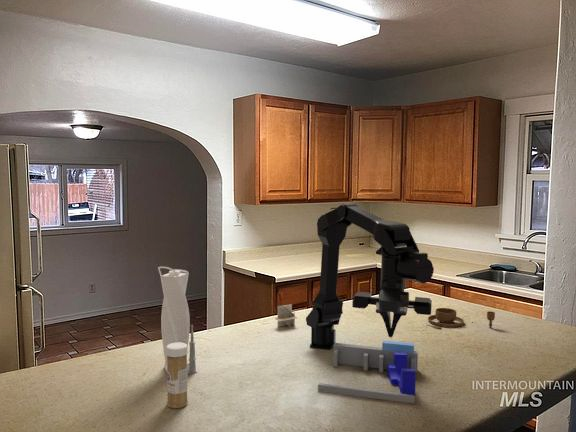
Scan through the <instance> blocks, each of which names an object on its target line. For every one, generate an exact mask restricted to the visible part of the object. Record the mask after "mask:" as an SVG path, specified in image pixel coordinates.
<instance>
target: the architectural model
mask: <svg viewBox="0 0 576 432" xmlns="http://www.w3.org/2000/svg"><path fill="white" fill-rule="evenodd" d="M292 305H293V304H292V303H291V304H290V303H289V304H285V305H279V306H277V317H274V320H276V321H277V327H278V328H279V327H284V326H285V327H286V326H287V327H291V325H292V326H293V327H294V326H295V325H296V319H297V317H296V312H295V311H294V312H293V310H292V309H293V306H292Z"/></svg>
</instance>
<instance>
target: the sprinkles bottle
mask: <svg viewBox="0 0 576 432" xmlns="http://www.w3.org/2000/svg"><path fill="white" fill-rule="evenodd" d="M188 348H189V347H188ZM188 348H187V344H185V343H181V342H177V343H171V344H169V345H167V347H166V355H167V373H166V375H167V377H166V378H167V379H166V386H167V387H166V390H167V391H166V392H167V403H166V405H167V407H168V408H170V409H181V408H183V407H186V406H187V405H188V403H189V401H188V375H187V364H188V353H189V350H188Z"/></svg>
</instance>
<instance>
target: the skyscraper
mask: <svg viewBox="0 0 576 432" xmlns="http://www.w3.org/2000/svg"><path fill="white" fill-rule="evenodd" d="M161 269H167V270H169V271H168V273H164V274H162V271H161ZM157 270H158V273H159V275H160V281H161V289H162V292H163V293H162V294H163V299H162V306H161V315H160V316H161V319H160V322H161V323H160V324H161V325H160V326H161V327H160V329H161V338H162V339H161V341H162V349H163V355H164V365H163V369H164V371H165V373H166V374H167V355H166V347H167V345H169V344H171V343H177V342H181V343H185V344H187V348H189V358H188V362H187V376H188V375H193V374H197V373H198V371H197V367H196V366H197V365H196V360H197V357H196V347H195V346H196V341H195V337H194V332H195V331H193V330H194V329H193V328H194V325H193V324H190V323H191V322H190V320H191V319H190V309H189V305H188V300H187V296H186V293H187V287H188V281H189V280H188V279H189V275H190V274H189V271H188V270H185V269H179V268H171V267H169V266H158V267H157ZM190 327H191V329H190ZM189 339H190V341H189Z"/></svg>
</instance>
